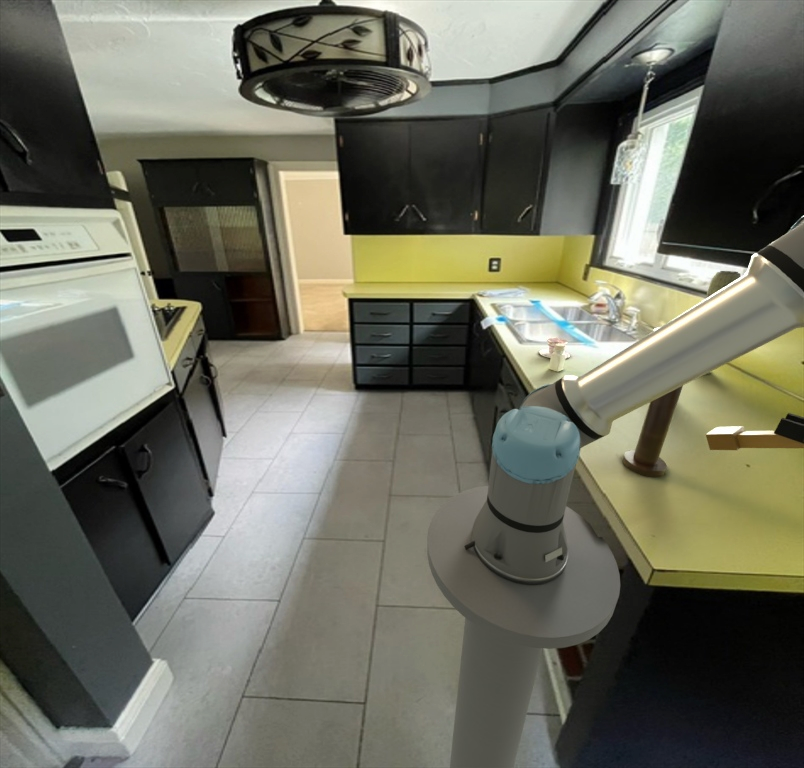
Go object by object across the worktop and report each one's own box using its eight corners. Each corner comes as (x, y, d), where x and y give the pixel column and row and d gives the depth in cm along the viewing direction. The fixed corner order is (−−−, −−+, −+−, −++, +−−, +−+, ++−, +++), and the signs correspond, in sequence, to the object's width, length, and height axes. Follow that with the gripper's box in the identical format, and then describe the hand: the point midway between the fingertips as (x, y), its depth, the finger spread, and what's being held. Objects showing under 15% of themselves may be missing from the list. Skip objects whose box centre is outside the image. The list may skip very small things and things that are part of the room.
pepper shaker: (553, 366, 137) (558, 342, 133) (563, 369, 134) (568, 345, 130) (548, 369, 134) (552, 344, 131) (557, 372, 132) (562, 347, 128)
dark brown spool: (634, 480, 75) (677, 341, 63) (608, 452, 85) (642, 326, 73) (681, 480, 75) (734, 341, 63) (651, 452, 85) (692, 326, 73)
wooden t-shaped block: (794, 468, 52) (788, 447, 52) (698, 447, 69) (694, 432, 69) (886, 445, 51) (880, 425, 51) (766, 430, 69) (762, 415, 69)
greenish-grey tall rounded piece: (702, 366, 137) (736, 270, 123) (716, 377, 127) (754, 274, 113) (675, 363, 140) (705, 269, 126) (686, 374, 130) (720, 273, 116)
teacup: (576, 358, 146) (579, 343, 143) (550, 360, 143) (553, 345, 141) (557, 349, 156) (559, 335, 154) (533, 351, 154) (535, 337, 151)
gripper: (1033, 567, 39) (754, 456, 57) (1031, 511, 47) (786, 429, 65) (1088, 514, 36) (775, 414, 54) (1077, 464, 44) (805, 391, 62)
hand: (781, 423), depth 59 cm, fingers closed on wooden t-shaped block, 2 cm apart
